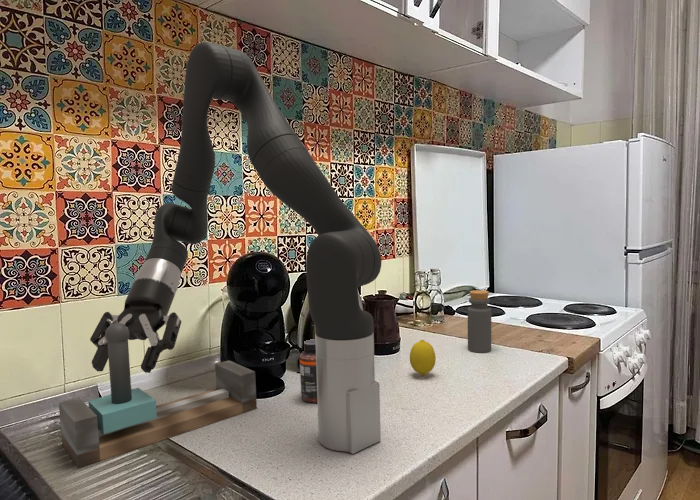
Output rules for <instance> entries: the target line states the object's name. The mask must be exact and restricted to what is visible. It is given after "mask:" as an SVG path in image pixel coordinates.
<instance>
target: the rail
mask: <svg viewBox="0 0 700 500" xmlns="http://www.w3.org/2000/svg"><path fill="white" fill-rule="evenodd" d="M214 369H215V384H216V386H215V388H214V389H210V390H207V391H203V392H199V393H196V394H193V395H189V396H186V397H182V398H179V399H178V398H177V399H175V400H170V401H168V402H164V403H161V404H158V405H157V404H156V414H157V418H155V419H152V420H149V421H145V422H142V423H139V424H135V425H132V426H129V427H126V428H122V429H119V430H116V431H112V432H109V433H106V434H103V432H102V431H101V430H100V429H99V428H98V422H97V415H96V414H95V413H94V412H93V411H92V410H91V409H90V408H89V405H87V403H85V401H84V400H82V399H81V397H77V398H74V399H73V398H72V399H69V400H66V401H65V400H64V401H61V402H58V410H59V422H60V434H61V446H62V447H63V448H64V450H65V452H66V454H68V456H69V457H70V459H71V460H72V461H73V463H74V465H75V466H76V467H77V469H80V468H84V467H86V466H89V465H93V464H96V463H98V462H102V461H104V460H107V459H111V458H114V457H116V456H119V455H122V454H125V453H128V452H131V451H134V450H137V449H139V448H143V447H145V446H146V447H147V446H149V445H151V444H155V443H158V442H160V441H163V440H166V439H169V438H173V437H176V436H178V435H182V434H185V433H187V432H190V431H193V430H195V429H200V428H203V427H205V426H207V425H208V426H209V425H211V424H214V423H218V422H220V421H223V420H226V419H229V418H232V417H235V416H238V415H241V414H244V413H247V412H250V411H253V410H255V409H257V408H258V406H257V385H256V383H257V381H256V371H255V370H252V369H250V368H247V367H245V366H243V365H241V364H238V363H237V362H235V361H232V360H226V361H225V360H224V361H221V362H216V363H215V364H214Z"/></svg>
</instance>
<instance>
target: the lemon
mask: <svg viewBox="0 0 700 500" xmlns="http://www.w3.org/2000/svg"><path fill="white" fill-rule="evenodd" d="M436 359H437V358H436V353H435V349H434V346H433V345H432V344H430V343H429V342H428V341H425V340H424V339H420V340H419V341H416V343H414V344H413V345H412V346H411V349H410V352H409V362H410V366H411V368H412V369H413V371H415V372H416V373H418V374H420V376H421V377H424V376H426V375H427V374H428V373H430V372H432V370H433V369H434V367H435V365H436Z"/></svg>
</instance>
